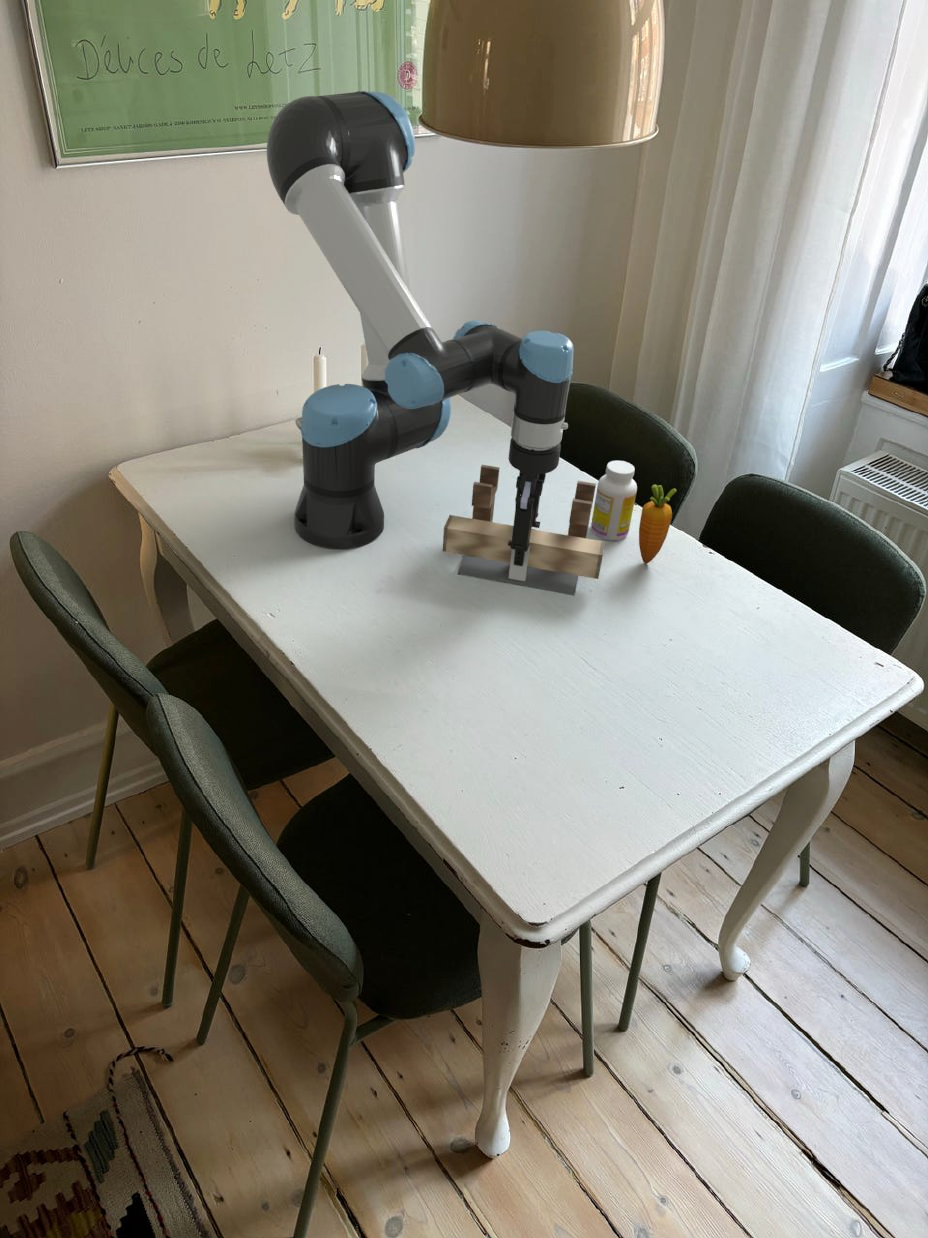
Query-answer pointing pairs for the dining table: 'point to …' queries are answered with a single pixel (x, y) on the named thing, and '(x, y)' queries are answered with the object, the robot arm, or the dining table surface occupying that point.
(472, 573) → the mat
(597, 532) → the supplement bottle
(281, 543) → the dining table surface
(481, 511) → the rack
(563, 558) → the rail
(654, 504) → the carrot
